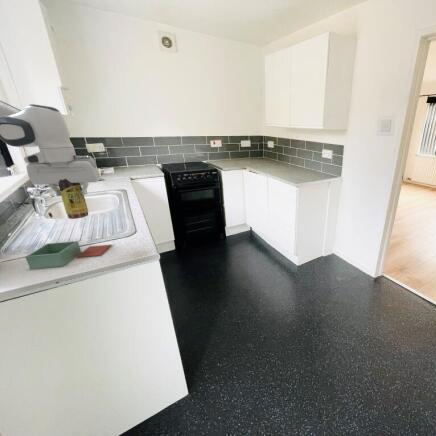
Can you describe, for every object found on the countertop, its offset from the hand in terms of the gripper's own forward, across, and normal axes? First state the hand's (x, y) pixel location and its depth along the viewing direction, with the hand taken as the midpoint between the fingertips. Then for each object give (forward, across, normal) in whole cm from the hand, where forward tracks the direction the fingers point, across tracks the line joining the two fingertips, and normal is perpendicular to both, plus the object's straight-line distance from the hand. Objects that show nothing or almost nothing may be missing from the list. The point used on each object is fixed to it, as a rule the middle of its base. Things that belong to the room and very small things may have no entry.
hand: (72, 195), depth 89 cm
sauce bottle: (+9, 0, 0) cm, 9 cm away
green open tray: (+24, +9, +4) cm, 26 cm away
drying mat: (+24, -1, -1) cm, 24 cm away
